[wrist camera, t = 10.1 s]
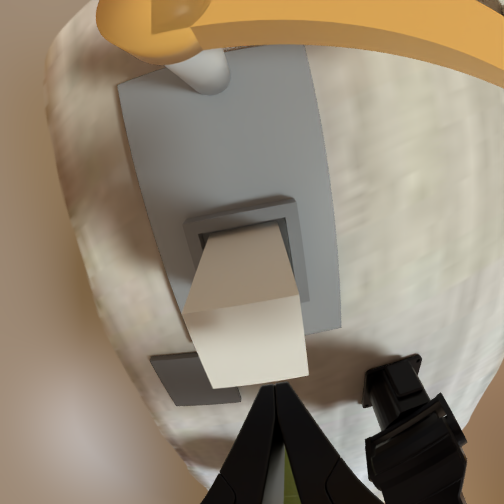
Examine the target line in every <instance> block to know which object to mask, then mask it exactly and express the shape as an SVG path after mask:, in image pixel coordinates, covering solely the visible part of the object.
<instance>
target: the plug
mask: <svg viewBox="0 0 504 504" xmlns="http://www.w3.org/2000/svg"><path fill="white" fill-rule="evenodd" d="M182 316H183V319H184V321H185V324H186V326H187V329H188V331H189V334H190V336H191V339H192V341H193V344H194V346H195V348H196V351H197V353H198V355H199V358H200V360H201V362H202V365H203V367H204V369H205V372H206V374H207V376H208V378H209V381H210V383H211V385H212V387H213V389H216V388H226V387H236V386H244V385H252V384H260V383H267V382H273V381H280V380H286V379H292V378H297V377H303V376H308V375H309V372H308V363H307V353H306V345H305V336H304V328H303V320H302V312H301V304H300V297H299V292H298V289H297V285H296V282H295V279H294V275H293V272H292V269H291V265H290V262H289V259H288V255H287V252H286V249H285V245H284V242H283V239H282V236H281V233H280V229H279V226H278V223H277V221H273V222H267V223H262V224H257V225H252V226H246V227H241V228H236V229H231V230H226V231H221V232H216V233H211V234H210V235H209V238H208V240H207V243H206V246H205V248H204V251H203V254H202V257H201V260H200V262H199V265H198V268H197V271H196V274H195V276H194V279H193V282H192V285H191V288H190V291H189V294H188V297H187V300H186V303H185V306H184V309H183V312H182Z"/></svg>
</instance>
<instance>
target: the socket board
mask: <svg viewBox="0 0 504 504" xmlns="http://www.w3.org/2000/svg"><path fill="white" fill-rule="evenodd" d="M164 66H165V67H166V68H163V69H160V70H157V71H154V72H151V73H148V74H145V75H142V76H140V77H137V78H134V79H132V80H129V81H126V82H124V83H121V84H119V85H117V86H118V92H119V98H120V103H121V108H122V113H123V118H124V123H125V128H126V132H127V137H128V141H129V145H130V150H131V154H132V158H133V162H134V166H135V170H136V174H137V178H138V182H139V185H140V189H141V193H142V196H143V200H144V203H145V207H146V210H147V214H148V217H149V221H150V224H151V227H152V230H153V234H154V237H155V240H156V243H157V246H158V249H159V252H160V255H161V258H162V261H163V264H164V267H165V270H166V273H167V276H168V279H169V282H170V284H171V287H172V290H173V293H174V295H175V298H176V301H177V303H178V306H179V309H180V311H181V314H182V312H183V309H184V306H185V303H186V300H187V297H188V294H189V291H190V288H191V285H192V282H193V279H194V276H195V274H196V271H197V268H198V265H199V262H200V260H201V257H202V254H203V251H204V248H205V246H206V243H207V240H208V238H209V235H210V234H211V233H216V232H221V231H226V230H231V229H236V228H241V227H246V226H252V225H257V224H262V223H267V222H273V221H277V223H278V226H279V229H280V233H281V236H282V239H283V242H284V245H285V249H286V252H287V255H288V259H289V262H290V265H291V269H292V272H293V275H294V279H295V282H296V285H297V289H298V292H299V297H300V304H301V312H302V320H303V328H304V335H309V334H314V333H319V332H323V331H328V330H333V329H337V328H341V299H340V279H339V264H338V250H337V239H336V228H335V218H334V209H333V200H332V192H331V184H330V176H329V169H328V162H327V156H326V149H325V143H324V137H323V131H322V125H321V120H320V114H319V109H318V104H317V99H316V94H315V89H314V85H313V80H312V76H311V71H310V67H309V62H308V58H307V54H306V50H305V46H304V45H294V44H278V45H264V46H257V47H250V48H245V49H239V50H234V51H229V52H224V51H223V48H217V49H208V50H203V51H201V52H200V53H199V54H197V55H195V56H194V57H192V58H190V59H188V60H186V61H183V62H180V63H176V64H171V65H164ZM182 317H183V316H182ZM184 322H185V321H184ZM186 327H187V326H186ZM188 332H189V331H188ZM190 337H191V336H190ZM192 342H193V341H192ZM195 349H196V348H195Z"/></svg>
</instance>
